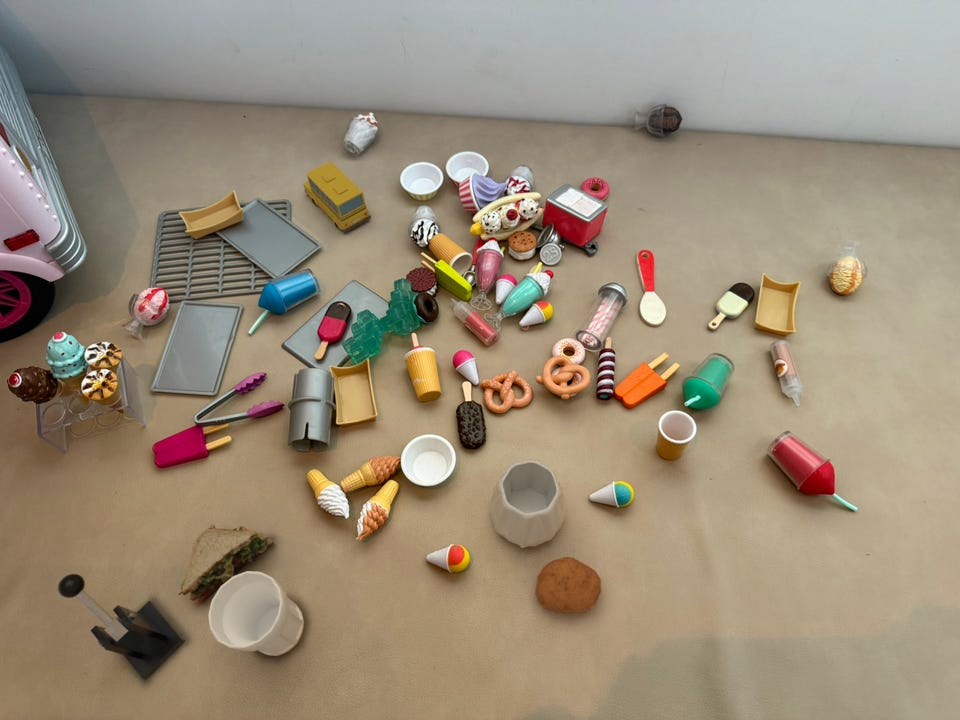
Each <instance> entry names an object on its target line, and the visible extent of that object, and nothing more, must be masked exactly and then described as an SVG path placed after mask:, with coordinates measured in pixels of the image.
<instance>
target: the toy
mask: <svg viewBox="0 0 960 720" xmlns="http://www.w3.org/2000/svg"><path fill="white" fill-rule="evenodd" d="M305 175H306V177H307V181H305V182H303V184H302V185H303V188H304V193H305V194H307V196H309V198H310V200H311V201H312V203H313V204H314V205H315V206H318V207H319V208H320V209H321V211H323V212H324V214H326V215H327V216H328V217H329V219H330V220H331V221H333V224H334V226H335V228H336V229H339V230H341V231H342V233H345V234H346V233H348V232H349V231H351V230H353V229H354V228H357V227H358V226H360V225H361V224H364V223H365V222H367V221H369V220H370V219H371V218H372V216H371V215H370V213H369V212H370V211H369V208H367V205H366V200H365V196H364V191H363V190H361V189H360V188H359V187H358V186H357V185H356V184H355V183H354V182H353V181H352V180H351V179H350V178H349V177H348V176H347V175H346V174H345V173H344V172H343V171H342V170H341V169H340V168H338V166H337V165H336V164H335V163H334V162H332V160H330V161H328V162H326V163H324V164H322V165H319V166H318V167H316V168H314V169H312V170H310V171H308V172H307V173H305Z"/></svg>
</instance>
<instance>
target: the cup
mask: <svg viewBox="0 0 960 720" xmlns="http://www.w3.org/2000/svg"><path fill="white" fill-rule="evenodd" d="M207 617H208V618H207V619H208V625H209V630H210V632H211V633H212V635H213V637H214V638H215V640H216V641H217V642H218V643H220V644H222V645H223V646H225V647H227V648H228V649H229V648H230V649H232V650H236V651H239V652H256V651H258V652H259V653H262V654H264V655H267V656H272V657H280V656H283V655H284V654H287V653H289V652H290V651H292V649H294V648H295V647H296V646H297V645H298V644H299V642H300V640H301V638H302V636H303V635H304V629H305V625H306V624H305V617H304V614H303V612H302V610H301V608H300V607H299V606H298V605H297V604H296V603H295V602H293V601H292V599H290V598H289V597H288V593H286V591H285V589H283V587H282V586H281V584H280V583H279V582H278V581H277V580H276V579H275V578H273V577H272V576H271V575H268V574H266V573H264V572H262V571H251V570H249V571H247V570H246V571H243V572H241V573H237V574H235V575H234V576H233V577H232V578H230V579H229V580H228V581H227V582H225V583H224V584H223V585H222V586H221V587H220V588H219V589H217V590H216V592H215V594H214V596H213V598H212V599H211V602H210V606H209V611H208V614H207Z"/></svg>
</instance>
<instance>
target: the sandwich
mask: <svg viewBox="0 0 960 720" xmlns="http://www.w3.org/2000/svg"><path fill="white" fill-rule="evenodd" d="M274 544H275V542H274V541H273V540H272V539H270V538H269V537H268V536H267V535H266V534H265V533H261V532H260V533H259V532H257V531H255V530H251V529H248V528H246V527H244V526H240V525H239V526H238V529H237V527H236V528H233V529H226V528H216V526H215V524H210V526H209V528H206V529H203V530H201V531H200V532H199V533H198V535H197V537H195V539H194V542H193V543H192V552H191V556H190V561H189V565H188V569H187V572H186V576H185V577H184V579H183V580H182V583H181V585H180V592H179V593H178V596H180V595H183V596H187V595H188V594H189V593H190V596H189V600H190V601H196V600H198V604H199V605H202V604H203V603H204V602H205V601H207V600H208V599H210V597H211V596H212V595H213V594H214V593H216V592H217V591H218V590H219V588H220V587H221V586H222V585H223V584H224V583H225V582H227V581H228V580H229V579H230V578H232V577H233V576H236V575H238V574H239V572H240V571H241V570H242V569H244V567H245V566H247V565H248V564H252V563H253V562H256V558H258V557H259V556H260V555H262V554H264V553H265V552H266V550H267V549H269V548H270V547H271V546H272V545H274Z"/></svg>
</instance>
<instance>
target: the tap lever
mask: <svg viewBox="0 0 960 720" xmlns="http://www.w3.org/2000/svg"><path fill="white" fill-rule="evenodd" d="M85 587H86V582H85V579H84V577H83V576H82V575H80V574H77V573H70V574H67V575H65V576H64V577H62V579H61V580H60V581H59V583H58V587H57V591H58V593H59V595H60V596H62V597H63V598H67V599H72V598H76V599H78V600H79V601H80V602H81V603H82V604H83V605H84V606H85V607H87V609H89V610H90V611H91V612H92V613H93V615H95V616H96V617H97V618H98V619H99V620H100V621H101V622H102V623H104V624H105V626H106V627H104V628H105V629H104V631H105V632H106V633H108V634H109V635H110V636H111V637H112V638H113V639H114V640H115V641H116V642H117V641H118V640H119V639H120V638H122V637H123V636H124V635H125V634H126V633H127V632H128V631H129V630H130V629H128V628H127V627H126V626H125V625H124V623H123V622H122V621H121V620H120V618H119V617H118V616H117V617H116V618H114V617H113V616H111V615H110V614H109V613H108V612H107V611H106V610H105V609H104V608H103V607H102V606H101V605H100V604H99V603H98V602H96V601H95V600H94V598H93V597H91V596H90V595H89V594H88V593H87V592H86V591H85Z"/></svg>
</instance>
